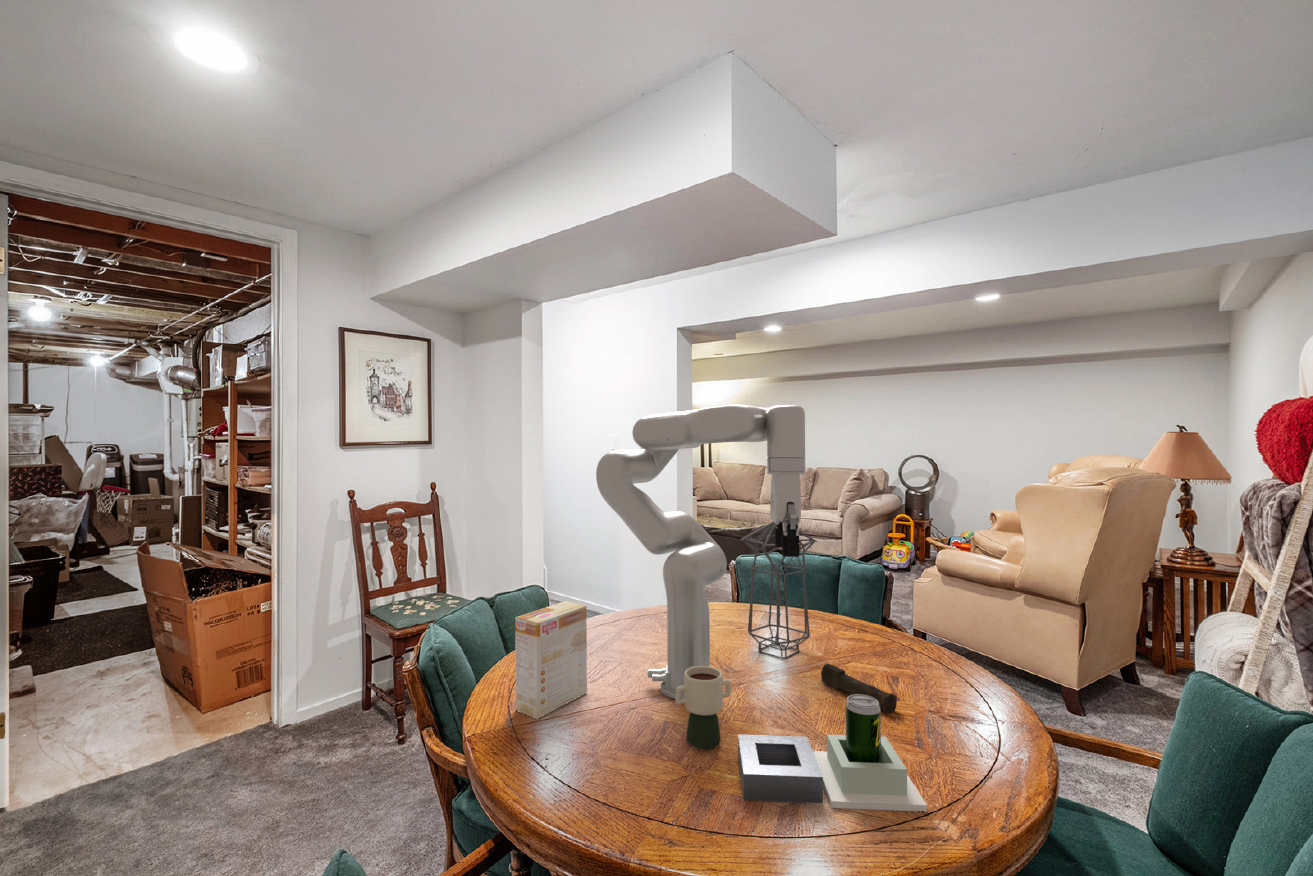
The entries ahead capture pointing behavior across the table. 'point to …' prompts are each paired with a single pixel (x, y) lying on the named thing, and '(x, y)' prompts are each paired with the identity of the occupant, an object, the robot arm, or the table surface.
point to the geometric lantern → (750, 630)
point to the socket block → (779, 769)
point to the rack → (867, 780)
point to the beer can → (863, 729)
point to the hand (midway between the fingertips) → (786, 551)
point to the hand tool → (857, 687)
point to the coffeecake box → (550, 657)
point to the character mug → (703, 704)
